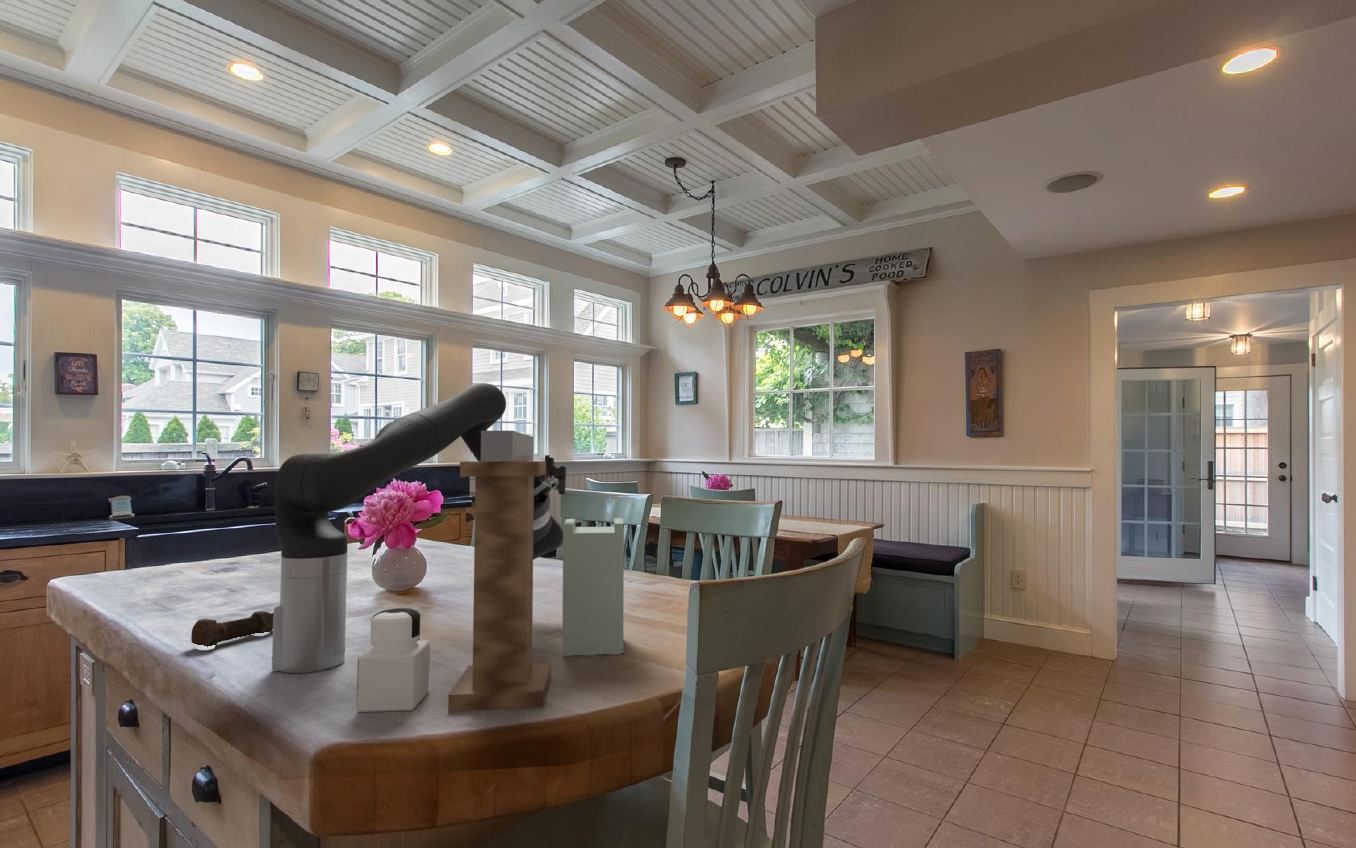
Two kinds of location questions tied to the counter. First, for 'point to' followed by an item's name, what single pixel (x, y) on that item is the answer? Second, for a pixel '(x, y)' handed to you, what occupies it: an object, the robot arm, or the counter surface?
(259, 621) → the bolt
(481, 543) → the tall column
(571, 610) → the grey tall block
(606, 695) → the counter surface
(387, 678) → the medicine bottle
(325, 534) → the robot arm
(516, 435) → the brushed steel bar
